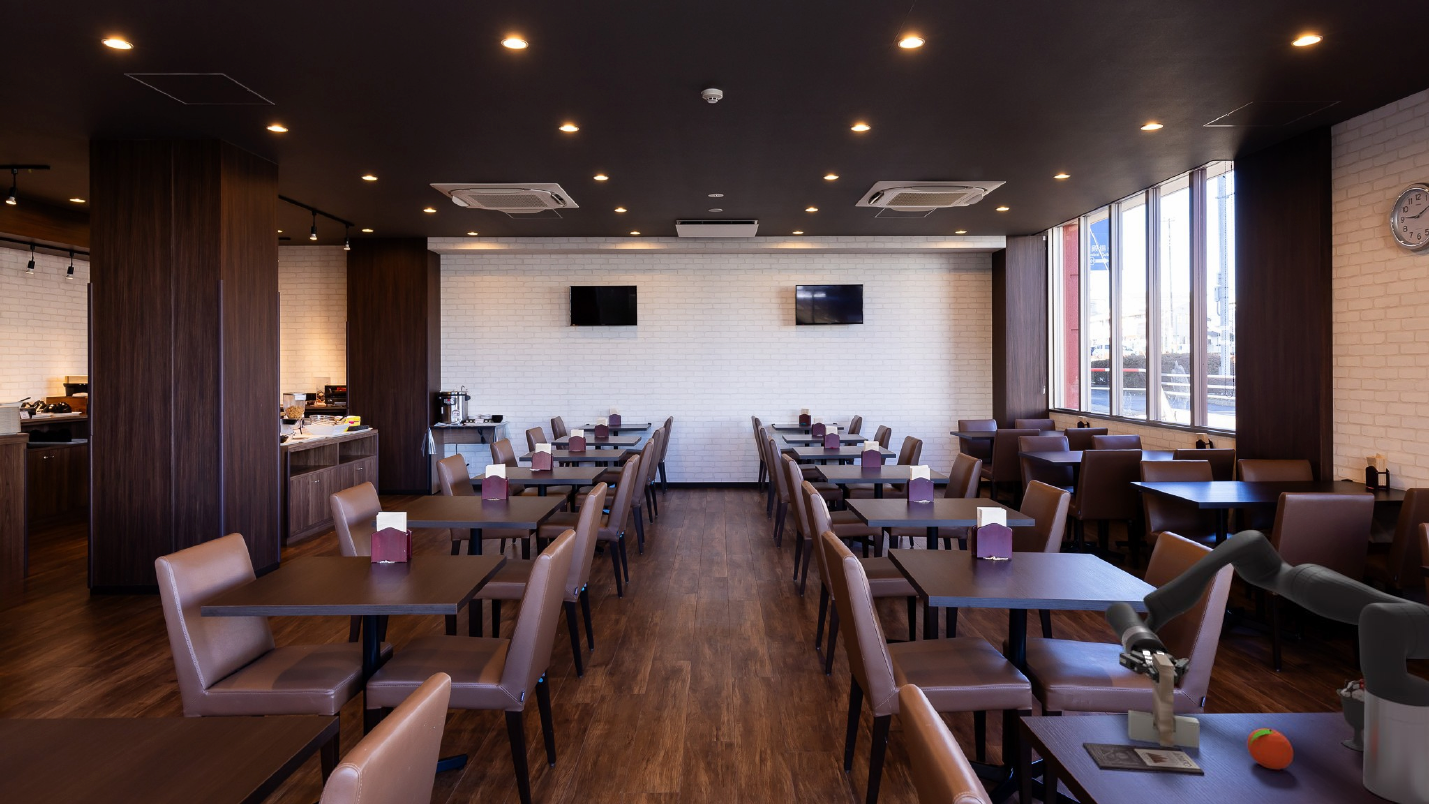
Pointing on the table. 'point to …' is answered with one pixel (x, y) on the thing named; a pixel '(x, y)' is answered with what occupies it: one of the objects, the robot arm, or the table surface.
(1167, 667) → the tapered block
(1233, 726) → the table surface
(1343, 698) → the sundae
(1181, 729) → the slotted rail
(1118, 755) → the chocolate bar
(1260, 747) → the clementine
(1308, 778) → the table surface
